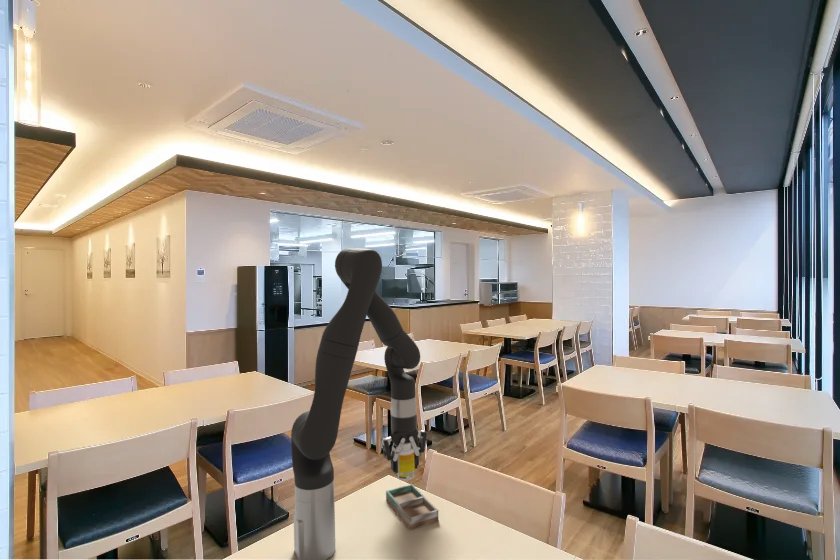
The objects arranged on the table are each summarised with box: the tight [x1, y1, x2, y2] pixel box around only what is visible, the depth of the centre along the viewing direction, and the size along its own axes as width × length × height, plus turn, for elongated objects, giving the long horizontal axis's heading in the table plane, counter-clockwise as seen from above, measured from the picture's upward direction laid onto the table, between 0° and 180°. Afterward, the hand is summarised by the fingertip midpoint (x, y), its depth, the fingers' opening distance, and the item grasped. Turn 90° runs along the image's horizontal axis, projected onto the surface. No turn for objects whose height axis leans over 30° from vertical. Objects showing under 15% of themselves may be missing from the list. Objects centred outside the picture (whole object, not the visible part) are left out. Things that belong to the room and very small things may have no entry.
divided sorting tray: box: [385, 483, 440, 531], centre depth 119 cm, size 8×16×3 cm, turn 27°
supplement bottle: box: [395, 442, 416, 482], centre depth 122 cm, size 6×6×10 cm
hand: (405, 469), depth 122 cm, fingers closed on supplement bottle, 5 cm apart
